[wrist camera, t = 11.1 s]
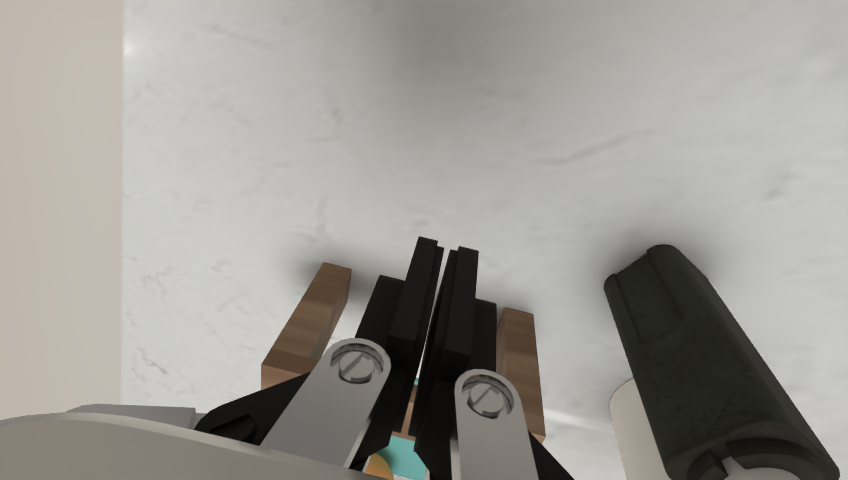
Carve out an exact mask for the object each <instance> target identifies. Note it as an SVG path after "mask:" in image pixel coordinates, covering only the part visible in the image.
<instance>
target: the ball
mask: <svg viewBox="0 0 848 480" xmlns="http://www.w3.org/2000/svg"><path fill="white" fill-rule="evenodd" d="M365 473H367V474H371V475H375V476H379V477H383V478H387V479H391V480H394V479H393V475H392V472H391V469H390V467H389V465H388V464H387V462H386V461H385V460H384V458H382V457H381V456H380V455H379V454H377V453H374V454H372V455H371V457H370V461H369V464H368V467H367V469H366V471H365Z"/></svg>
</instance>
